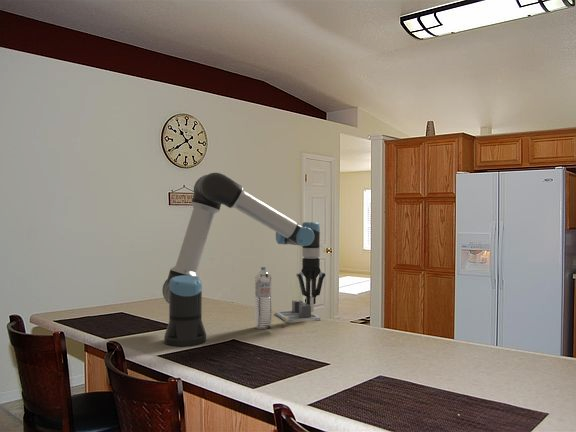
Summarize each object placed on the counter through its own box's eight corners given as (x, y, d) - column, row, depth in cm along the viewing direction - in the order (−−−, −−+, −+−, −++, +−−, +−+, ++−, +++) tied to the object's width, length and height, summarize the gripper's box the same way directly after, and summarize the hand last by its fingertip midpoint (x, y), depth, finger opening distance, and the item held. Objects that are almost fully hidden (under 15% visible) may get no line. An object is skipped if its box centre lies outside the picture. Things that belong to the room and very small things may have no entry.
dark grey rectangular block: (310, 320, 214) (310, 305, 214) (302, 320, 212) (302, 306, 212) (307, 318, 217) (307, 304, 217) (299, 318, 216) (299, 304, 216)
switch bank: (320, 323, 213) (320, 317, 213) (287, 325, 209) (287, 319, 209) (305, 315, 231) (305, 309, 231) (275, 317, 227) (275, 311, 227)
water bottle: (272, 326, 208) (272, 266, 209) (270, 329, 202) (270, 268, 202) (256, 325, 209) (256, 266, 209) (253, 329, 202) (253, 268, 202)
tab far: (303, 314, 225) (303, 301, 225) (294, 315, 224) (294, 301, 224) (300, 313, 229) (300, 300, 229) (292, 313, 228) (292, 300, 228)
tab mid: (310, 317, 220) (310, 303, 220) (301, 317, 219) (301, 303, 219) (307, 315, 224) (307, 301, 224) (298, 316, 222) (298, 302, 223)
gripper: (321, 256, 221) (321, 309, 221) (294, 257, 218) (293, 311, 217) (328, 257, 214) (328, 312, 214) (299, 258, 210) (299, 314, 210)
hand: (310, 311), depth 216 cm, fingers closed
